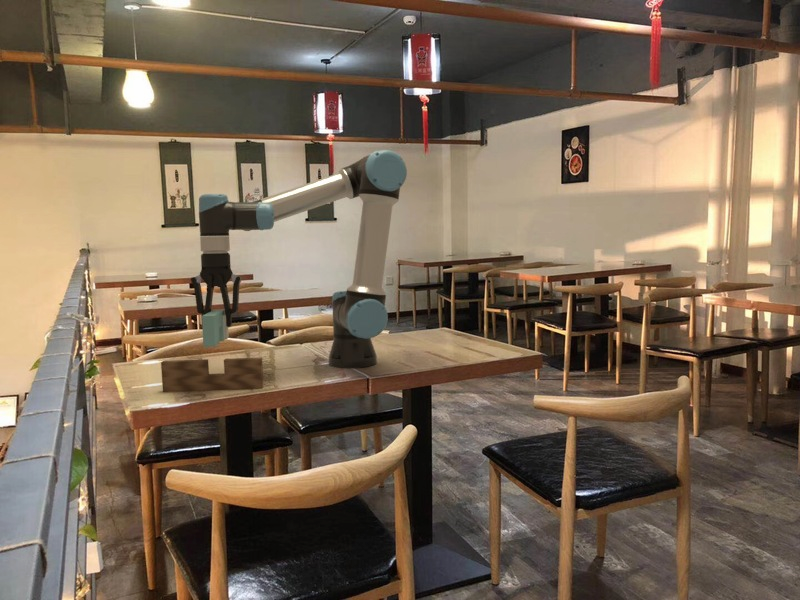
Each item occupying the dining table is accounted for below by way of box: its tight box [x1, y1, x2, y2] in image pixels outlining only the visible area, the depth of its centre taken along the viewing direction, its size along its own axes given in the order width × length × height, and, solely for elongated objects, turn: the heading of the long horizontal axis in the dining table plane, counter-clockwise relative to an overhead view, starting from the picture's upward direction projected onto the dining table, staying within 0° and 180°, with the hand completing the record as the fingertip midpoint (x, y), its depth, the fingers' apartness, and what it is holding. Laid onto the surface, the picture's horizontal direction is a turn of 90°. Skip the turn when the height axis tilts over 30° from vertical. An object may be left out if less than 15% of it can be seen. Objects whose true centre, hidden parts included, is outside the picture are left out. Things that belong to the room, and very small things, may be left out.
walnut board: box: [160, 357, 264, 393], centre depth 166 cm, size 26×2×8 cm, turn 94°
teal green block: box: [201, 308, 226, 348], centre depth 165 cm, size 3×14×8 cm, turn 4°
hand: (219, 338), depth 169 cm, fingers closed on teal green block, 3 cm apart
